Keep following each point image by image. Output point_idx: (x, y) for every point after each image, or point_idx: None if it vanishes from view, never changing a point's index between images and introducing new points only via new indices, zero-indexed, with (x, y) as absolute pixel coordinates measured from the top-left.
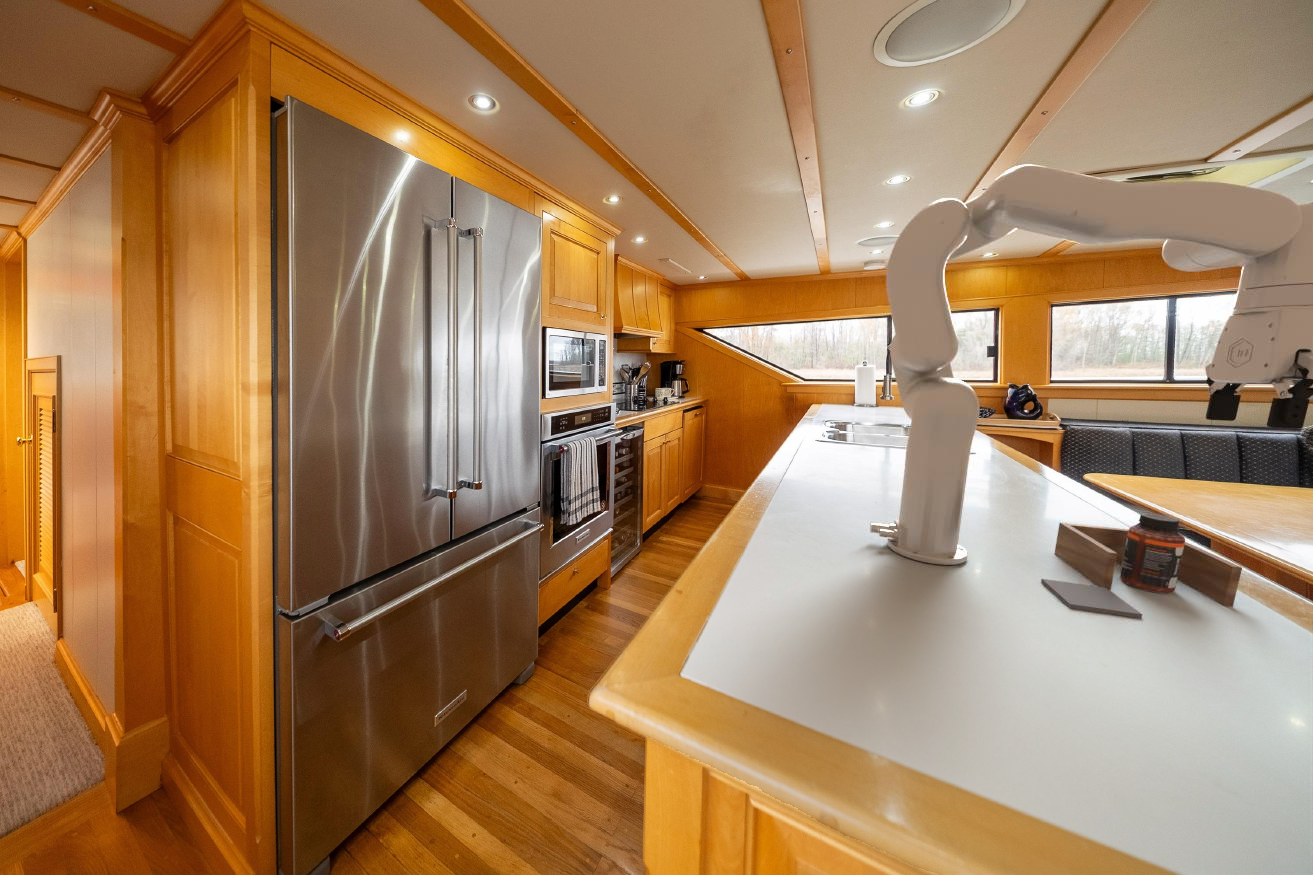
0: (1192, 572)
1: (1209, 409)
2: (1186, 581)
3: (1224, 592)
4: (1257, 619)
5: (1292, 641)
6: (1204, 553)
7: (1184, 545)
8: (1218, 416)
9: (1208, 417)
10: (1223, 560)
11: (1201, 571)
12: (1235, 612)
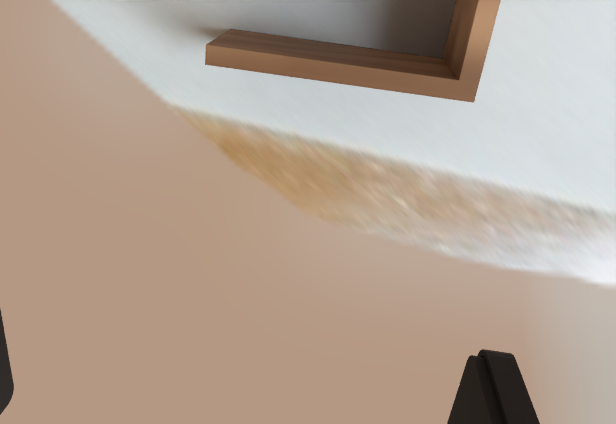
0: (327, 48)
1: (510, 409)
2: (341, 45)
3: (230, 34)
4: (178, 43)
5: (92, 21)
6: (297, 57)
7: (371, 67)
8: (466, 406)
9: (487, 355)
10: (251, 62)
11: (300, 47)
12: (201, 25)
